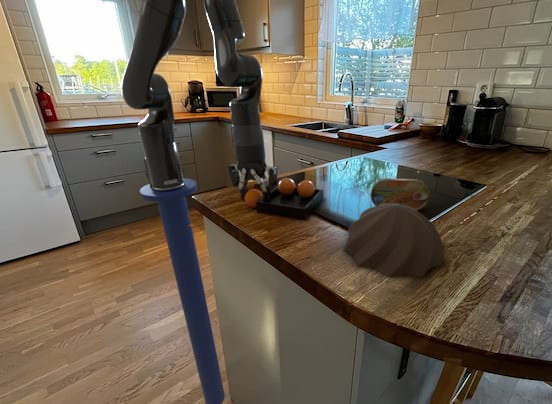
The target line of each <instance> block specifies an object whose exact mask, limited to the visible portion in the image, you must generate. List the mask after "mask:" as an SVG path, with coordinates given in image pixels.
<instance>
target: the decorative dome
mask: <svg viewBox="0 0 552 404" xmlns="http://www.w3.org/2000/svg"><path fill="white" fill-rule="evenodd" d="M347 233H348V236H349V240H348V242H347V243H346V245H345V247H344V251H345V252H347V254H350V255H351V256H352V257H354V260H355V263H356V266H357V267H360V268H365V269H369V270H374V271H376V272H378V273H380V274H381V275H382V276H385V277H387V278H395V277H399V276H413V277H420V278H422V277H424V276H426V274H427V272H428V271H429V270H430V269H432V268H435V267H438V266H442V264H443V257H444V246H443V241H442V238H441V236H440V234H439V232H438V229H437V228H436V227H435V225H434V224H433V223H432V222H431V221H430V220H429V219H428V217H426V216H425V215H424V214H422V212H419V211H418V210H417V211H416V210H415V209H413V208H412V207H410V206H406V205H400V204H397V203H393V204H388V203H384V204H380V205H379V206H372V207H369V208H366V209H365V210H363V211H362V212H361V213H360V215H359V217H358V219H357V220H355V221H353V222H352V223H351V224H350V225H349V226H348V228H347Z"/></svg>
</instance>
